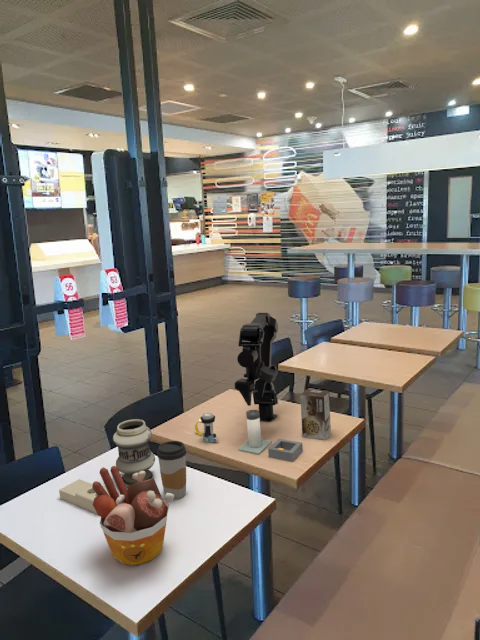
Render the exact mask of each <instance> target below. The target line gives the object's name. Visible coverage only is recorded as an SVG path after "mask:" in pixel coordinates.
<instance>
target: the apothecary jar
mask: <svg viewBox="0 0 480 640" xmlns="http://www.w3.org/2000/svg"><path fill="white" fill-rule="evenodd" d="M116 427H117V428H116V431H115V433H114V434H113V437H112V442H113V443H114V444H115V445H116V446H117V450H118V457H117V459H116V460H115V466H116V467H117V468H118V470H119V472H120V473H121V474H123V475H121V477H122V479H123V481H124V484H125V486H127V487H128V486H130V485H132V484H135V483H139V482H138V481H137V480H135V479H133V478H132V475H133V474H134V473H139V472H140V471H145V472H146V475H145V477H144V479H143V481H145V480H148V479H152V478H154V474H153V472H152V471H151V470H150V469H151V468H152V467H153V466H154V464H155V462H156V457H155V456H156V455H155V454H154V452H152V451H151V448H150V441H151V439H152V437H153V434H152V430H151V429H150V428H149V427H148V426H147V425H146V422H145V421H144V420H143V419H138V418H134V419H128V420H124V421H122V422H120V423H118V425H117V426H116Z"/></svg>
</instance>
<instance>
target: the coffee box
mask: <svg viewBox="0 0 480 640" xmlns="http://www.w3.org/2000/svg"><path fill="white" fill-rule="evenodd" d="M299 398H300V410H301V411H300V413H301V414H300V415H301V417H300V418H301V437H302V438H308V439H309V438H310V439H315V440H316V439H317V440H324V441H326V440H327V439H328V438H329V437H330V436H331V434H332V431H331V430H332V429H331V428H332V427H331V398H330V391H329V390H328V391H327V390H321V389H320V390H317V389H309V388H308V389H305V390H304V391H303V392H302V393H301V394H300V397H299Z"/></svg>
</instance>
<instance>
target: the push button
mask: <svg viewBox="0 0 480 640" xmlns="http://www.w3.org/2000/svg"><path fill="white" fill-rule="evenodd" d="M199 419H201V421H202V423H201V424H203V428H204V429H203V430H204V431H203V432H202V433H203V435H202V441H203V442H206V443H212V444H213V443H216V442H217V443H219V438H217V434H216V433H215V432H214V423H215V420H216V416H215V414H213V413H212V412H206V413H203V414H202V415H201V416H200V418H199Z"/></svg>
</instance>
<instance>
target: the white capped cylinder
mask: <svg viewBox="0 0 480 640" xmlns="http://www.w3.org/2000/svg"><path fill="white" fill-rule="evenodd" d="M245 414H246V416H245V417H246V425H247V426H246V427H247V437H248V441H249V446H250V447H253V448H256V447H260V446H261V445H262V441H261V440H262V431H261V420H260V418H259V409H249V410H247V411H246V413H245Z"/></svg>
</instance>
